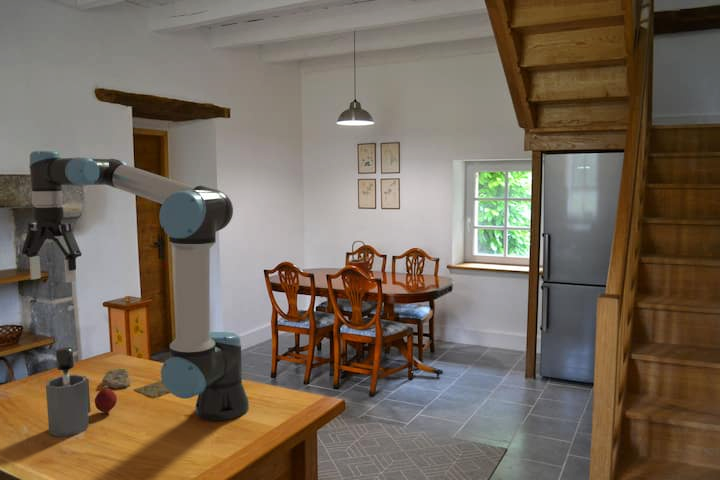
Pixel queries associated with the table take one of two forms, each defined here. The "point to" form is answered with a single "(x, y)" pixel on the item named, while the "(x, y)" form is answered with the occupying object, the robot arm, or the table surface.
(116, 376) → the rock
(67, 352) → the plunger
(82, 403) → the press carafe
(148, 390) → the grey porous flat square
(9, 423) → the table surface
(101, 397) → the onion
